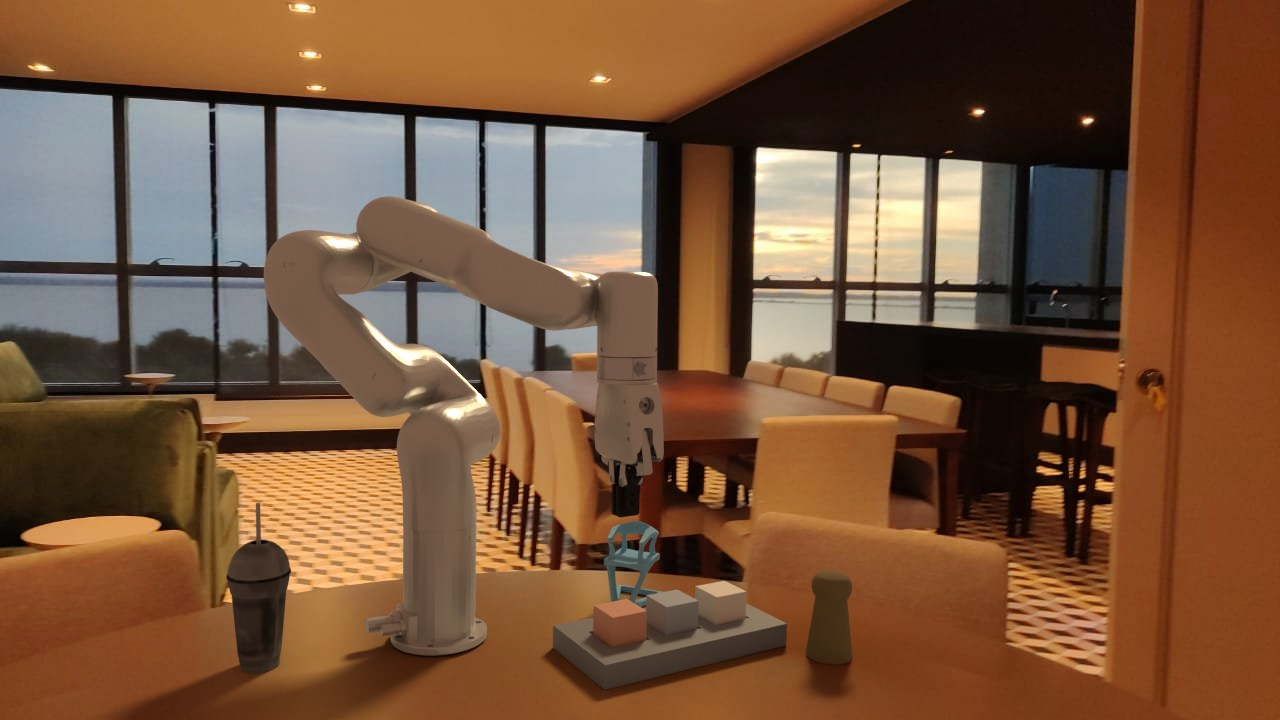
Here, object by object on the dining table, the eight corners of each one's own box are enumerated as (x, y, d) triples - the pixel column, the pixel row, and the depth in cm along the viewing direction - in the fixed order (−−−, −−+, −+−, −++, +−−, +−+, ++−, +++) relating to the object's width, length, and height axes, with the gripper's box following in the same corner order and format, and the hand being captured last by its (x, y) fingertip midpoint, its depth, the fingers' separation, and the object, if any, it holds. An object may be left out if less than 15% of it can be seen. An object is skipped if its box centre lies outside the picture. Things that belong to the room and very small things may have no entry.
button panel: (604, 689, 103) (605, 665, 103) (552, 647, 115) (553, 625, 115) (786, 645, 118) (787, 623, 118) (723, 611, 130) (724, 592, 129)
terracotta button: (612, 649, 109) (612, 617, 108) (592, 635, 113) (593, 605, 113) (646, 641, 111) (647, 611, 111) (626, 628, 115) (627, 598, 115)
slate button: (665, 637, 113) (666, 607, 113) (645, 624, 117) (646, 595, 117) (697, 630, 115) (698, 600, 115) (676, 618, 120) (677, 589, 119)
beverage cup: (228, 682, 103) (226, 515, 101) (225, 659, 109) (224, 501, 108) (294, 671, 106) (294, 509, 104) (288, 649, 112) (287, 496, 111)
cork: (853, 666, 112) (857, 582, 111) (805, 661, 113) (808, 578, 112) (851, 648, 117) (855, 567, 117) (805, 643, 119) (809, 564, 118)
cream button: (716, 626, 117) (716, 597, 117) (694, 614, 121) (695, 586, 121) (745, 619, 120) (746, 591, 119) (723, 608, 124) (724, 580, 124)
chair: (596, 607, 131) (597, 528, 130) (619, 589, 138) (620, 515, 137) (644, 615, 128) (646, 535, 127) (664, 597, 135) (666, 521, 134)
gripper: (685, 374, 105) (683, 524, 106) (622, 365, 118) (621, 499, 119) (631, 376, 101) (630, 532, 102) (572, 367, 114) (572, 506, 115)
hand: (625, 514), depth 111 cm, fingers closed
